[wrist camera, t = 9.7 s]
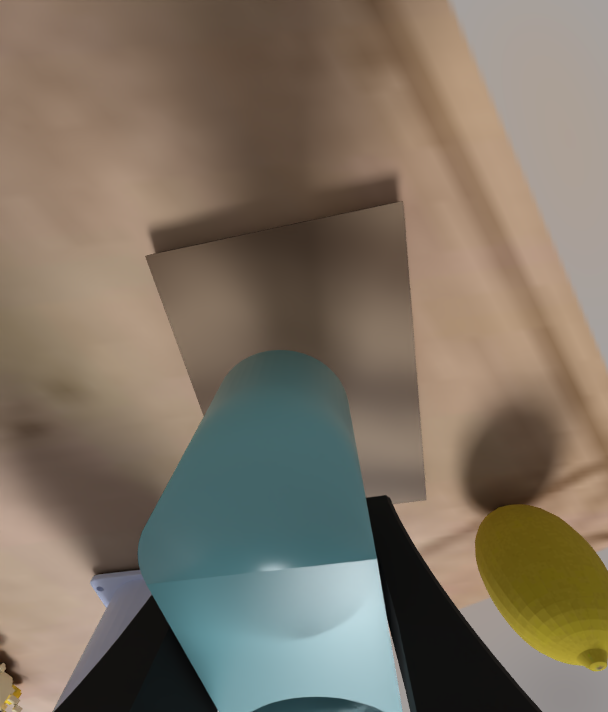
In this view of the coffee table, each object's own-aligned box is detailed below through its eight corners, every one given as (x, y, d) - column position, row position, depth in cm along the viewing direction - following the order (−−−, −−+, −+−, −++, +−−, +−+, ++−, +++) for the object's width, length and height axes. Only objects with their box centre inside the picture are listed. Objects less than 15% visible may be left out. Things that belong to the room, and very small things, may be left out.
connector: (386, 624, 14) (420, 821, 10) (293, 633, 15) (283, 825, 10) (337, 338, 9) (360, 461, 5) (199, 362, 10) (96, 498, 5)
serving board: (421, 487, 21) (426, 499, 20) (245, 509, 22) (242, 522, 21) (397, 201, 14) (403, 201, 14) (155, 253, 16) (145, 256, 15)
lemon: (482, 552, 23) (564, 717, 15) (437, 504, 21) (503, 661, 14) (562, 513, 21) (696, 675, 14) (519, 458, 20) (644, 608, 12)
